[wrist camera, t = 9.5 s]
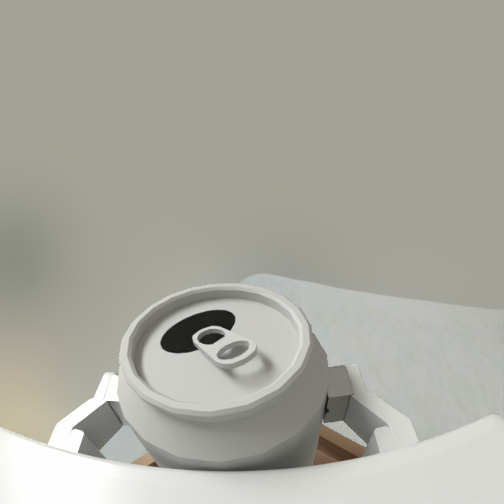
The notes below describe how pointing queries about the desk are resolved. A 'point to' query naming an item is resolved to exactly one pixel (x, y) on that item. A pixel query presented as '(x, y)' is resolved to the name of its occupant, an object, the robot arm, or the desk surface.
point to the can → (224, 380)
